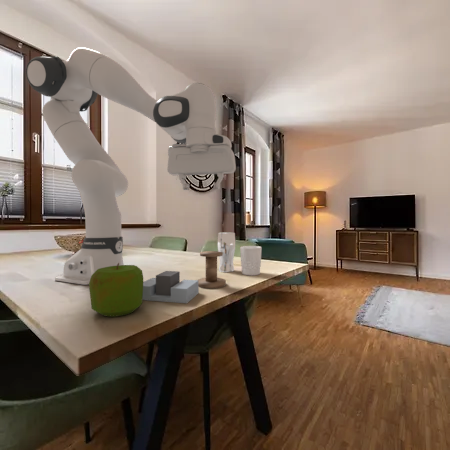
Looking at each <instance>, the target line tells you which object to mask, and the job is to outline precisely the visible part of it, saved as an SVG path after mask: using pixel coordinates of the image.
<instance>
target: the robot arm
mask: <svg viewBox="0 0 450 450" xmlns="http://www.w3.org/2000/svg"><path fill="white" fill-rule="evenodd" d="M25 70H26V71H25V76H26V79H27V82H28V84H29V86H30V87H31V88H32V89H33V90H34V91H35V92H37V93H39V94H41V95H43V96H45V97H49V98H50V100H48V101H47V102H46V103H45V104H44V105H43V106H42V116H43V118H44V120H45V123H46V125H47V127H48V129H49V131H50V133H51V134H52V136H53V137H54V139H55V141H56V143H57V144H58V145H59V146H60V148H61V149H62V152H63V153H64V154H65V155H66V157H67V159H68V161H70V162H71V163H73V164H74V166H73V168H72V170H71V179H72V182H73V184H74V185H75V186H76V188H77V190H78V193H79V195H80V200H81V203H82V205H83V209H84V216H85V217H84V218H85V223H84V224H85V237H84V238H83V239H79V240H78V241H79V242H78V244H79V245H80V244H81V247H80V249H79V250H77V251H76V252H75V253H74V254H73V255H71V257H69V258H68V259H67V260H66V261H65V262H64V264H63V271H62V272H63V273H62V274H60V275H59V274H58V275H57V276H56V277H55V278H54V281H57V282H62V283H70V284H71V283H72V284H77V285H87V286H88V285H89V282H90V279H91V276H92V275H93V273H94V272H95V271H96V270H97V269H100V268H104V267H109V266H117V265H118V263H119V265H125V263H124V258H123V257H124V256H123V248H124V241H123V240H124V238H123V236H122V213H121V211H120V209H119V206H118V203H117V202H118V201H117V198H118V197H121V196H123V195H124V194H126V192H127V190H128V189H129V181H128V178H127V176H126V175H125V174H124V173H123V172H122V171H121V169H120V167H119V166H118V165H117V164H116V162H115V161H114V159H113V158H112V157H111V156H110V155H109V153H108V152H107V151H106V150H105V149H104V147H102V145H101V144H100V142H99V141H98V140H97V138H96V137H95V135H94V133H93V132H92V130H91V129H90V128H89V126H88V125H87V122H86V121H85V119H84V118H83V117H82V116H81V114H80V113H81V112H86V111H87V110H88V108H89V107H91V106H92V105H93V104H94V103H95V101H96V100H97V97H98V95H99V96H101V97H103V98H105V99H107V100H109V101H112V102H114V103H117V104H119V105H121V106H124V107H127V108H128V109H131V110H133V111H135V112H138V113H140V114H141V115H143V116H144V117H147V118H148V119H150V120H151V121H153V122H155V123H156V125H158V127H160V128H161V129H162V130H163V131H164V132H165V133H166V134H167V135H169V136H170V137H171V139H172V140H174V142H177V143H173V144H172V145H170V146H169V148H168V149H167V158H168V160H167V172H168V173H169V175H172V176H178V179H179V180H180V182H181V184H182V190H183V191H190V184H189V183H187V182H186V179H187V176H195V175H196V176H197V175H200V176H201V175H217V177H218V178H217V180H216V182H213V189H214V190H221V184H222V183H221V182H222V181H223V179H224V177H225V176H224V175H225V174H228V175H229V174H234V173H235V172H236V169H237V168H236V167H237V166H236V157H235V153H234V151H233V149H232V147H233V146H232V141H231V140H230V138H229V137H227V135H222V134H219V133H217V129H216V120H217V105H216V96H215V93H214V91H213V90H212V88H211V87H209V86H208V85H207V84H204V83H202V82H192V83H190V84H188V85H187V86H186V87H185V89H183V90H181V91H180V92H177V93H175V94H172V95H166V96H165V95H164V96H163V97H160V98H159V99H158V100H157V99H155V98H154V97H152V96H151V95H150V94H149V93H148V92H147V91H146V90H145V89H144V87H142V86H141V85H140V83H138V81H137V80H136V79H135V78H134V77H133V75H132V74H131V73H130V72H129V71H128V70H126V68H125V67H123V66H122V65H121V64H120V63H118V62H117V61H115V60H114V59H112V58H111V57H108V56H106V55H105V54H103V53H100V52H99V51H97V50H93V49H90V48H87V47H77V48H76V49H75V48H74V49H73V51H72V52H71V53H70V55H69V58H68V59H67V60H62V59H61V58H60V57H59V56H58V55H54V56H35V57H33V58H32V59H30V60H29V62H28V63H27V65H26V68H25Z"/></svg>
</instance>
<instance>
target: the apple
mask: <svg viewBox="0 0 450 450" xmlns="http://www.w3.org/2000/svg"><path fill="white" fill-rule="evenodd" d="M143 282H144V273H143V270H142V269H141V268H140V267H139V266H137V265H135V264H124V265H119V263H118V265H117V266H109V267H104V268H100V269H97V270H96V271H95V272H94V273H93V275H92V276H91V279H90V282H89V284H88V288H89V297H90V304H91V305H90V306H91V309H92V310H93V311H94V312H96V313H98V314H100V315H101V316H105V317H112V318H114V317H121V316H126V315H128V314H132V313H133V312H134V311H135V310H137V309H138V308H140V306H141V305H142V304H143V300H142V297H143Z"/></svg>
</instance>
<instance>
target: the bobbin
mask: <svg viewBox="0 0 450 450" xmlns="http://www.w3.org/2000/svg"><path fill="white" fill-rule="evenodd" d="M222 255H223V252H219V251H218V250H217V251H216V250H215V251H214V250H209V251H206V250H205V251H200V253H199V256H200V257H205V277H202V278H199V279H197V280H198V288H201V289H208V290H209V289H210V290H211V289H219V288H224V287H226V284H227V282H226V279H225V278H221V277H218V258H219V256H222Z"/></svg>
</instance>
